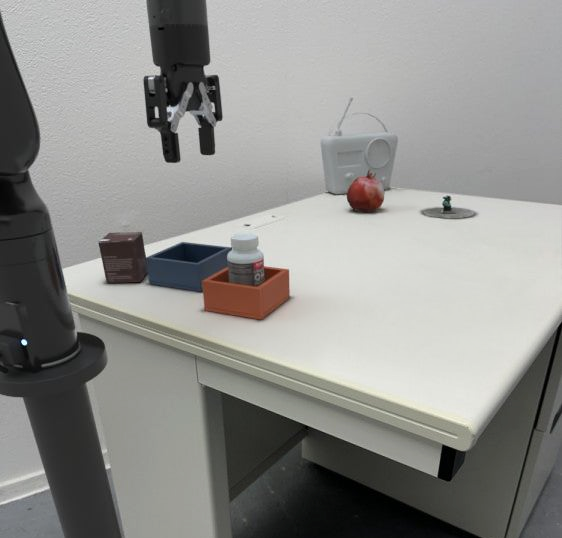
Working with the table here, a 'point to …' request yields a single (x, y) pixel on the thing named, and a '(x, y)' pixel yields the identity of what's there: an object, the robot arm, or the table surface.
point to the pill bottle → (245, 260)
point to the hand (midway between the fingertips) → (191, 158)
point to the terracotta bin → (246, 294)
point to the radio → (357, 156)
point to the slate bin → (186, 265)
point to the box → (123, 257)
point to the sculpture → (448, 210)
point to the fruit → (365, 193)
